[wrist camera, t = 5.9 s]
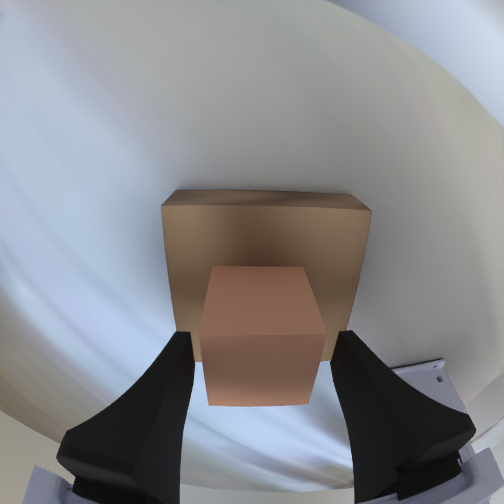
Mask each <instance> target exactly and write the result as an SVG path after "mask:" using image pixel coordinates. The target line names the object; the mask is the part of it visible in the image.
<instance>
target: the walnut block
mask: <svg viewBox="0 0 504 504" xmlns="http://www.w3.org/2000/svg"><path fill="white" fill-rule="evenodd" d="M161 210H162V222H163V233H164V243H165V252H166V261H167V269H168V277H169V285H170V292H171V299H172V305H173V312H174V318H175V324H176V330H177V331H186V332H191V339H192V346H193V353H194V359H195V362H202V356H201V349H200V341H199V330H200V324H201V319H202V314H203V309H204V304H205V299H206V294H207V289H208V284H209V279H210V274H211V269H212V266H259V267H304V270H305V273H306V275H307V278H308V281H309V284H310V286H311V289H312V292H313V295H314V297H315V300H316V303H317V306H318V308H319V311H320V314H321V317H322V320H323V323H324V326H325V328H326V331H327V336H326V340H325V344H324V348H323V352H322V356H321V360H320V361H328V360H331V358H332V355H333V351H334V348H335V344H336V341H337V337H338V334H339V331H346V329H347V325H348V321H349V318H350V314H351V310H352V306H353V302H354V298H355V294H356V290H357V286H358V281H359V277H360V272H361V268H362V263H363V258H364V253H365V248H366V243H367V237H368V232H369V226H370V220H371V214H372V210H370V209H369V208H368V207H367V206H365V205H364V204H363V203H361V202H360V201H359V200H357V199H356V198H355V197H353V196H352V195H345V194H330V193H312V192H291V191H258V190H178V191H175V192H174V193H173V194H172V195H171V196H170V197H169V198H168V199H167V200H166V201H165V202H164V203H163V204H162V205H161Z"/></svg>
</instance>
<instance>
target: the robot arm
mask: <svg viewBox="0 0 504 504" xmlns="http://www.w3.org/2000/svg"><path fill="white" fill-rule="evenodd" d="M330 365H331V371H332V377H333V382H334V386H335V389H336V392H337V395H338V398H339V402H340V405H341V408H342V411H343V414H344V417H345V421H346V425H347V429H348V434H349V440H350V446H351V454H352V461H353V473H354V491H355V492H354V494H355V500H354V501H355V504H489V500H490V499H491V495H493V494H494V493H496V492H497V491H498V490H500V489H501V488H502V487H504V480H503V477H502V475H501V472H500V470H499V468H498V465H497V463H496V461H495V459H494V456H493V454H492V452H491V450H490V448H486V449H484V450H483V451H481V452H479V453H477V454H475V452H474V450H473V448H472V446H471V444H470V442H469V440H470V439H471V438H472V437H473V436H474V434H475V432H476V428H475V426H474V424H473V422H472V420H471V418H470V416H469V415H468V414H467V412H466V409H465V406H464V404H463V402H462V400H461V399H460V397H459V395H458V393H457V392H456V390H455V388H454V386H453V385H452V383H451V381H450V380H449V378H448V376H447V375H446V373H445V371H444V370H443V366H444V365H445V360H444V359H441V360H437V361H433V362H428V363H423V364H418V365H413V366H408V367H403V368H397V369H390V368H389V367H388V366H387V365H386V364H385V363H383V362H382V361H381V360H380V359H379V358H378V357H377V356H376V355H375V354H374V353H373V352H372V351H371V350H370V349H369V348H368V347H367V345H366V344H365V343H364V342H363V341H362V340H361V339H360V338H359V337H358V336H357V335H356V334H355V333H354V332H353V331H352V330H349V331H339V334H338V337H337V341H336V344H335V348H334V351H333V355H332V358H331V361H330ZM194 372H195V359H194V353H193V346H192V339H191V332H186V331H176V332H175V333H174V334H173V336H172V337H171V339H170V340H169V342H168V343H167V345H166V346H165V347H164V349H163V350H162V352H161V353H160V354H159V355H158V357H157V358H156V359H155V361H154V362H153V363H152V364H151V366H150V367H149V368H148V369H147V370H146V371H145V373H144V374H143V375H142V376H141V377H140V378H139V379H138V380H137V381H136V382H135V383H134V384H133V385H132V386H131V387H130V388H129V389H128V390H127V391H126V392H125V393H124V394H123V395H122V396H120V397H119V398H118V399H117V400H116V401H115V402H113V403H112V404H111V405H109V406H108V407H107V408H105V409H104V410H102V411H101V412H99V413H98V414H96V415H95V416H93V417H92V418H90V419H89V420H87V421H85V422H83V423H81V424H79V425H78V426H76V427H74V428H72V429H70V430H67V431H66V434H65V435H64V437H63V440H62V442H61V445H60V448H59V451H58V453H57V456H56V458H57V460H58V462H59V463H60V464H61V465H62V466H63V467H64V468H66V469H67V470H68V471H69V472H70V473H72V474H73V475H74V476H75V477H76V478H75V481H74V484H73V485H72V484H70V483H68V482H67V481H66V480H65V479H64V478H62V477H60V476H58V475H57V474H55V473H52V472H50V471H48V470H46V469H44V468H41V467H39V466H37V465H35V466H34V469H33V472H32V475H31V477H30V480H29V484H28V486H27V490H26V493H25V496H24V499H23V503H22V504H180V495H179V494H180V464H181V449H182V438H183V430H184V424H185V420H186V415H187V411H188V406H189V402H190V397H191V392H192V388H193V382H194Z"/></svg>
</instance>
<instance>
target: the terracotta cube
mask: <svg viewBox="0 0 504 504" xmlns="http://www.w3.org/2000/svg"><path fill="white" fill-rule="evenodd" d="M326 336H327V331H326V328H325V326H324V323H323V320H322V317H321V314H320V311H319V308H318V306H317V303H316V300H315V297H314V295H313V292H312V289H311V286H310V284H309V281H308V278H307V275H306V273H305V270H304V267H259V266H212V269H211V274H210V279H209V284H208V289H207V294H206V299H205V304H204V309H203V314H202V319H201V324H200V330H199V341H200V349H201V356H202V364H203V371H204V378H205V385H206V391H207V398H208V404H209V405H211V406H285V405H302V404H308V402H309V399H310V396H311V392H312V389H313V385H314V382H315V378H316V375H317V371H318V367H319V364H320V360H321V356H322V352H323V348H324V344H325V340H326Z"/></svg>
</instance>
